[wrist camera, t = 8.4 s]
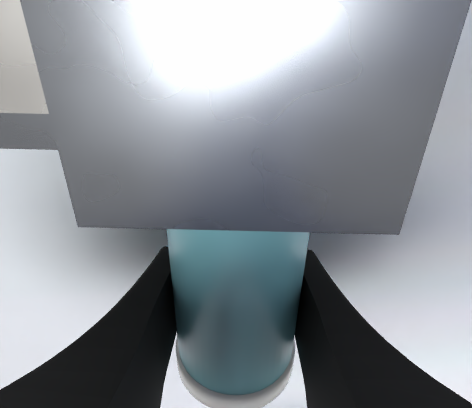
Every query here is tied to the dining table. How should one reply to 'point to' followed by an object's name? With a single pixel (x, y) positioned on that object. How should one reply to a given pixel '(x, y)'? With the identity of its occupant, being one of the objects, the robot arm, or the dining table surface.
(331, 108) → the housing
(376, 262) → the dining table surface
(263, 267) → the cylinder
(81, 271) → the dining table surface
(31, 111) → the plunger
